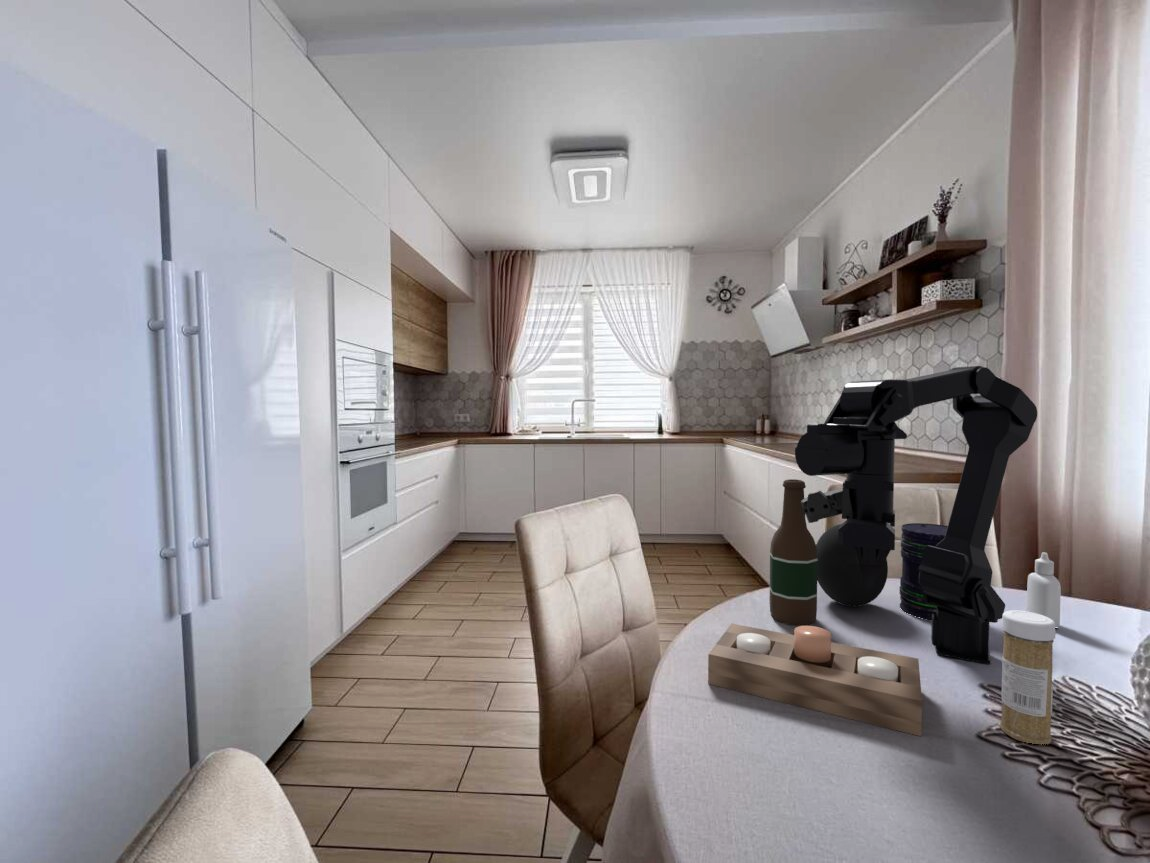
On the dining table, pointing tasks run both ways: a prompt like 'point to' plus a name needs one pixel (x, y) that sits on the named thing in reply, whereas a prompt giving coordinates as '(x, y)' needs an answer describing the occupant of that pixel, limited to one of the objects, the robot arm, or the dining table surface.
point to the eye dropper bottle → (1044, 590)
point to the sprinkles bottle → (1027, 676)
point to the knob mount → (820, 680)
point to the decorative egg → (844, 572)
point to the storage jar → (916, 566)
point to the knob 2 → (878, 668)
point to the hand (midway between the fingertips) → (867, 586)
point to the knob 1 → (753, 643)
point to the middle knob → (812, 643)
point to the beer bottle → (793, 562)
